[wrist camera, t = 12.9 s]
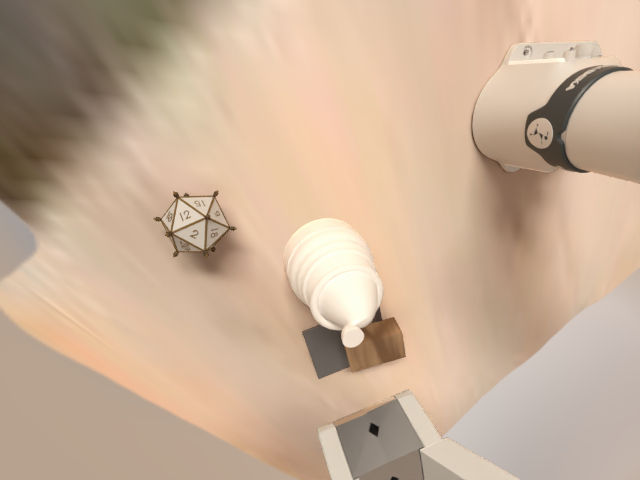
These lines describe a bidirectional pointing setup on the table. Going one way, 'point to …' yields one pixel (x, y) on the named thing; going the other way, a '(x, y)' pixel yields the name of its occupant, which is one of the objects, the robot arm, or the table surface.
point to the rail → (377, 316)
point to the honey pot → (334, 276)
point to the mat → (326, 350)
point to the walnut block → (377, 345)
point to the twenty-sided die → (195, 223)
